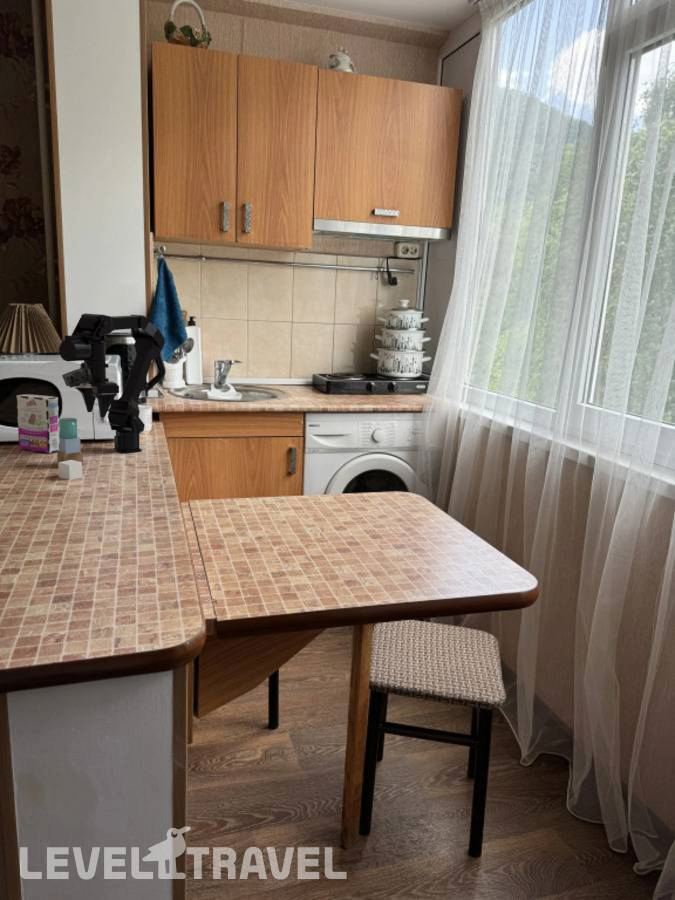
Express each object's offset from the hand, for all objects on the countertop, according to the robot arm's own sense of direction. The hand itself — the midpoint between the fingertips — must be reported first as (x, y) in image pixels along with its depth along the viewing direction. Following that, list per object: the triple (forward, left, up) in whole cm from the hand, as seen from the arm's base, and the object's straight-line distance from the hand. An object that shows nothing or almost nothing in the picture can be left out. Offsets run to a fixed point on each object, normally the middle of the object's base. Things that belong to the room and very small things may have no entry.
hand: (96, 414), depth 183 cm
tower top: (+9, +3, -9) cm, 13 cm away
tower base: (+9, +3, -13) cm, 16 cm away
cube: (+13, +15, -13) cm, 24 cm away
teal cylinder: (+9, +3, -5) cm, 11 cm away
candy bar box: (+10, -18, -13) cm, 24 cm away
